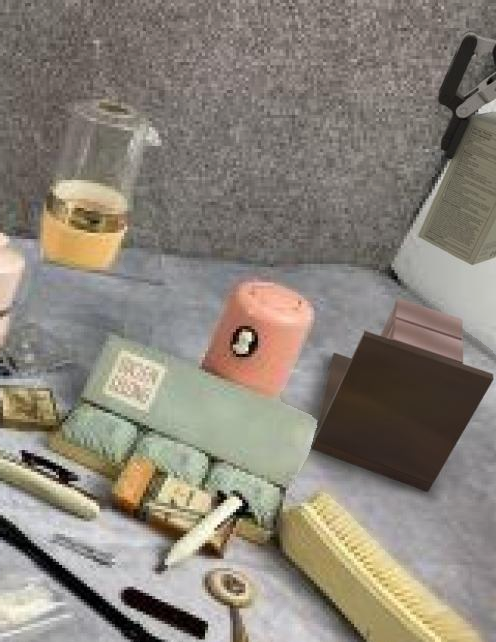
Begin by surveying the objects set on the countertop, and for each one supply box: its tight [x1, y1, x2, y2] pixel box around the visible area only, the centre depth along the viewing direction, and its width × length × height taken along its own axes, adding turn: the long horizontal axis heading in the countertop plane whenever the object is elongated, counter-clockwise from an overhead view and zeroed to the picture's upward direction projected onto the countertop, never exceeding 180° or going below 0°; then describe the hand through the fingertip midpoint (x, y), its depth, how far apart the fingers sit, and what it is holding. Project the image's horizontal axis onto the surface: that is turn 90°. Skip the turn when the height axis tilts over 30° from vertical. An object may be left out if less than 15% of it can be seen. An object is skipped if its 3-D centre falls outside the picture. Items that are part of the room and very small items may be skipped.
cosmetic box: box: [417, 111, 496, 266], centre depth 85 cm, size 6×4×12 cm
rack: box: [311, 297, 494, 492], centre depth 91 cm, size 18×11×13 cm, turn 158°
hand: (492, 168), depth 84 cm, fingers closed on cosmetic box, 7 cm apart
